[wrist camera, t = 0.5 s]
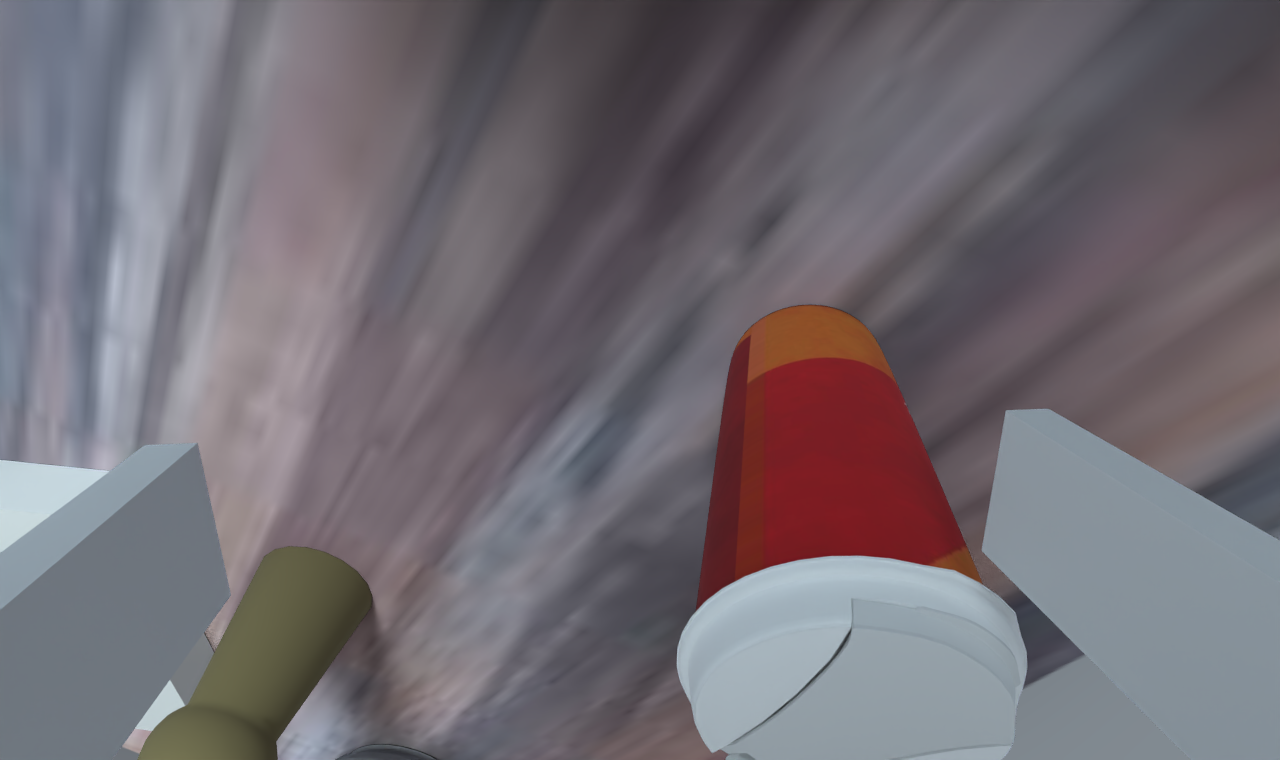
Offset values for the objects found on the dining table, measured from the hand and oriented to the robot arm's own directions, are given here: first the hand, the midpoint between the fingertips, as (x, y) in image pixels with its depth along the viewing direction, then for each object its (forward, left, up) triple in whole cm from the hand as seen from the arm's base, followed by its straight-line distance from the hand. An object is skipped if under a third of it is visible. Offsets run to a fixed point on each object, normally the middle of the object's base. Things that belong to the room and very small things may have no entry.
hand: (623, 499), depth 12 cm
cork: (+22, -18, -15) cm, 32 cm away
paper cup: (+6, +5, -15) cm, 17 cm away
